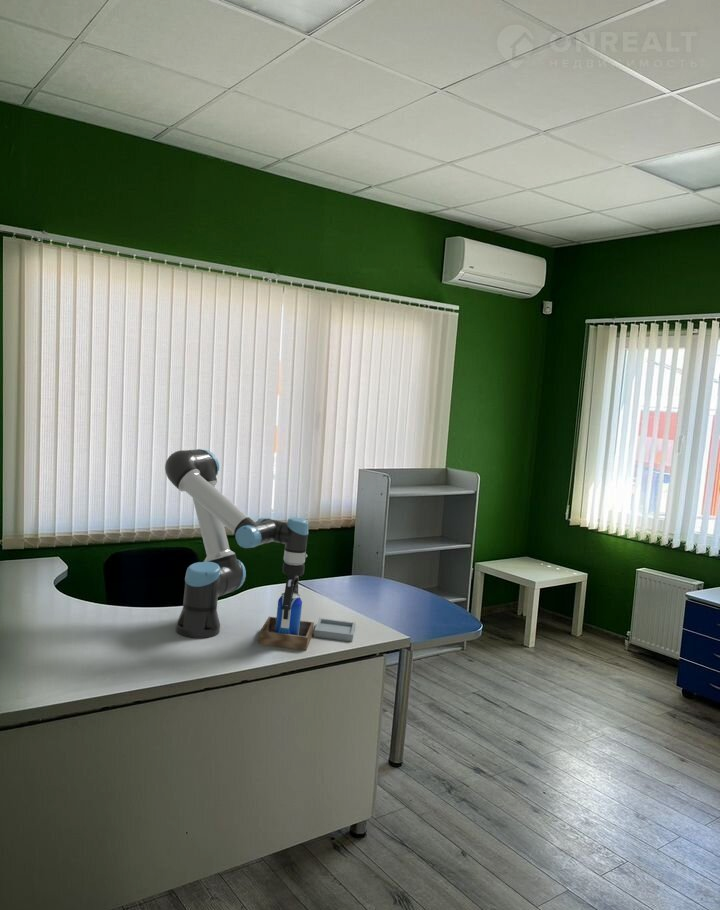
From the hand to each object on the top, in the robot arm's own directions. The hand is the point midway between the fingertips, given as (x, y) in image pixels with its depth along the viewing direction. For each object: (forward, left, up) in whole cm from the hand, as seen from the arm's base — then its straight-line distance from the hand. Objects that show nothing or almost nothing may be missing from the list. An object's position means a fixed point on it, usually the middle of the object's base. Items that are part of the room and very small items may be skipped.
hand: (288, 621), depth 253 cm
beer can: (0, 0, -7) cm, 7 cm away
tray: (+16, +13, -6) cm, 22 cm away
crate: (0, 0, -6) cm, 6 cm away
